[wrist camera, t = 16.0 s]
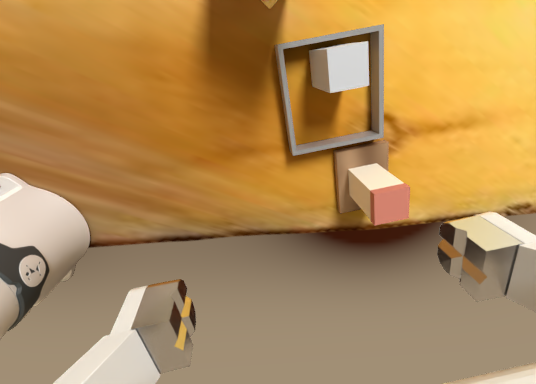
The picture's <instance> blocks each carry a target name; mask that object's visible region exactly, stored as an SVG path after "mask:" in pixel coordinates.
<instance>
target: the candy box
mask: <svg viewBox="0 0 536 384" xmlns="http://www.w3.org/2000/svg"><path fill="white" fill-rule="evenodd" d="M261 1H262V2H263V3H264V4H265V5H266V6H267V7H268V8H269V9H271V8H272V7H273V6H274V4H275V3H276V2H277V1H278V0H261Z"/></svg>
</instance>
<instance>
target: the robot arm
mask: <svg viewBox="0 0 536 384" xmlns="http://www.w3.org/2000/svg"><path fill="white" fill-rule="evenodd" d="M0 186H1V187H0V339H1V338H2V337H3V336H4V334H5V333H6V332H7V331H9V330H11V329H12V328H14V327H15V326H16V325H17V324H18V323H19V322H20V321H21V320H22V319H23V318H24V317H25V316H26V315H27V314H28V313H29V312H30V310H31V308H32V307H35V306H37V305H38V304H40V303H41V302H42V301H43V300H44V299H45V298H46V296H47V295H48V294H49V293H50V292H51V291H52V290H53V289H54V288H55V287H56V286H57V285H58V284H59V283H60V282H61V281H67V280H69V279H70V277H71V276H72V275H73V274H74V271H75V266H76V263H77V262H78V261H79V260H80V259H81V258H82V257H83V255H84V254H85V253H86V251H87V249H88V247H89V243H90V232H89V228H88V225H87V223H86V221H85V219H84V217H83V216H82V215H81V213H80V212H79V211H78V210H77V209H76V208H75V207H74V206H73V205H72V204H71V203H69V202H68V201H66V200H65V199H63V198H62V197H60V196H58V195H56V194H54V193H52V192H49V191H46V190H43V189H39V188H36V187H33V186H31V185H28V184H27V183H25V182H24V181H22V180H21V179H19V178H18V177H16V176H14V175H12V174H9V173H2V174H0ZM439 235H440V236H441V237H442V238H443V240H442V241H441V242H440V244H439V245H438V252H437V255H438V258H439V261H440V264H441V265H442V267H443V269H444V270H445V271H446V272H447V273H448V274H449V275H451V276H453V277H456V278H458V279H460V286H461V287H462V288H463V289H464V290H465V291H466V292H467V293H468V294H469V295H470V296H471V297H472V298H473V299H474V300H475V301H476V302H479V301H484V300H489V299H494V298H499V297H505V296H506V298H508V299H509V300H512V301H513V302H516V303H518V304H520V305H522V306H524V307H526V308H528V309H530V310H532V311H534V312H536V236H535V235H533V234H532V233H530V232H528V231H527V230H525V229H523V228H522V227H520V226H518V225H516V224H514V223H513V222H511V221H510V220H508V219H506V218H504V217H503V216H501V215H499V214H498V213H495V212H486V213H482V214H478V215H474V216H471V217H467V218H462V219H458V220H453V221H449V222H444V223H442V225H441V226H440V230H439ZM186 293H187V287H186V285H185V282H184V280H182V279H179V280H174V281H168V282H163V283H157V284H152V285H149V286H143V287H138V288H133V289H131V290H130V291H129V293H128V294H127V297H126V299H125V301H124V304H123V306H122V308H121V310H120V313H119V315H118V317H117V320H116V322H115V324H114V326H113V328H112V331H111V333H110V335H107V336H104V337H103V338H102V339H100V340H99V341H98V342H97V343H96V344H95V345H94V346H93V347H92V348H91V349H90V350H89V351H88V352H87V353H86V354H84V356H82V357H81V358H80V359H79V360H78V361H77V362H76V363H75V364H74V365H73V366H71V367H70V368H69V369H68V370H67V371H66V372H65V373H64V374H63V375H62V376H61V377H60V378H59V379H58V380H57V381H55V382H54V383H53V384H155V383H156V382H157V380H158V379H159V377H160V374H161V373H165V372H169V371H173V370H177V369H181V368H185V367H189V366H190V364H191V357H192V350H193V343H192V340H191V338H190V337H191V335H192V334H193V333H194V332H195V325H196V316H195V309H194V305H193V302H192V300H191V299H190V298H188V297H187V296H186ZM443 384H536V362H533V363H529V364H525V365H521V366H516V367H512V368H508V369H503V370H499V371H495V372H491V373H486V374H482V375H478V376H473V377H469V378H465V379H460V380H457V381H452V382H448V383H443Z"/></svg>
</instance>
